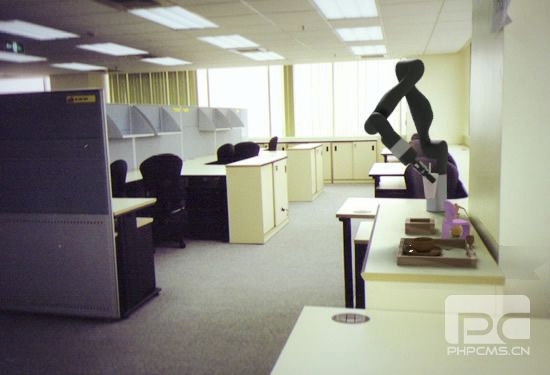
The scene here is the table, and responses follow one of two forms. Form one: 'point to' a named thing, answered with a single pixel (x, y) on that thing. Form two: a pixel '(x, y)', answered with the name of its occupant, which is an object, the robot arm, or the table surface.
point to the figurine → (457, 229)
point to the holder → (420, 225)
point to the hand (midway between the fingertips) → (434, 180)
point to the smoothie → (430, 185)
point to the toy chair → (453, 221)
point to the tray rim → (437, 260)
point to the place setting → (430, 246)
